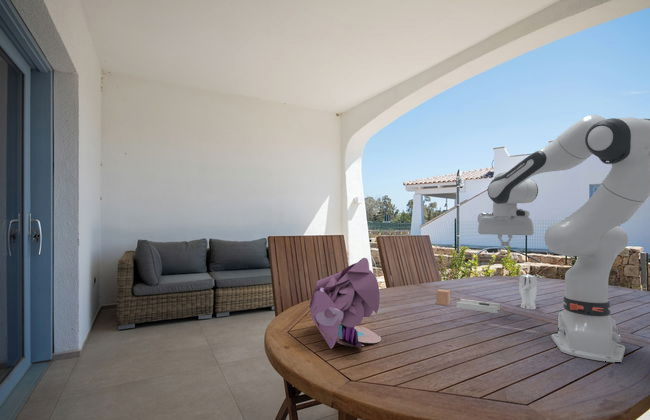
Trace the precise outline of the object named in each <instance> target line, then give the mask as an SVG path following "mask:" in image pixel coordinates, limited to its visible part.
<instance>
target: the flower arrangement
mask: <svg viewBox="0 0 650 420" xmlns="http://www.w3.org/2000/svg"><path fill="white" fill-rule="evenodd" d="M380 298H381V297H380V287H379V282H378V279H377V277H376V275H375V274H374V272H373V271H372V270H370V262H369V259H368V258H367V257H362V258H361V259H359V261H357V262H355V263H353V264H350V265H348V266H347V267H345V268H344V269H343V270H342V271H339V272H337V273H334V274H331V275H329V276H326V277H324V278H321V279H319V280H317V281H316V283H315V287H314V290H313V292H312V296H311V300H310V303H309V309H310V315H311V316H310V317H311V319H312V321H313V322H314V324H315V326H316V327H317V329H318V330H319V332H320V334H321V335H322V337H323V339H324V340H325V342H326V344H327V345H328V347H329V349H330V350H332V349H333V348H334V347H335V344H336V343H338V344H340V345H344V346H347V347H354V348H361V347H364V346H365V345H364V344H376V343H379V342H381V340H382V337H381V336H380V335H378V334H377V333H376V332H374V331H372V330H370V329H369V328H367V327H364V326H362V325H361V326H359V325H360V324H361V322H362V321H363V319H364V318H370V317H371V316H372V314H374V313H375V314H376V315H377V313H378V311H379V307H380ZM373 312H374V313H373ZM362 343H364V344H362Z"/></svg>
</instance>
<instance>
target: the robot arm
mask: <svg viewBox="0 0 650 420" xmlns="http://www.w3.org/2000/svg"><path fill="white" fill-rule="evenodd" d="M592 155H594V156H596V157H597V158H598V159H599V160H600V161H601V162H602V163H603V164H606V165H611V169H610V170H609V172H608V174H607V175H606V177H605V178H604V179H603V180H602V182H601V183H600V185H599V186H598V188H597V189H596V190H595V191H594V193H592V195H591V196H590V198H589V199H587V201H586V202H585V203H584V204H583V205H582V206H580V207H579V208H578V209H577V210H576V211H574V212H572V213H571V214H570V215H569V216H567V217H566V218H564V219H562V220H560V221H559V222H556V223H553V224H551V225H550V226H548V228H547V229H546V231H545V232H544V239H543V240H544V244H545V246H546V247H547V249H548V250H549V251H550V252H552V253H553V254H556V255H561V256H566V257H576V261H575V263H574V265H573V266H571V267H569V269H567V271H566V272H565V274H564V296H563V300H562V303H563V304H562V306H563V308H564V309H563V310H561V311H560V312H559V313H558V316H557V317H558V318H557V319H558V320H557V321H558V322H557V324H558V325H557V333H552V334H551V336H550V338H551V340H552V341H553V342H554V344H555V345H556V346H557V348H558V349H559V351H560V352H562V353H563V354H567V355H570V356H573V357H577V358H582V359H587V360H591V361H592V360H593V361H598V362H599V361H600V362H605V361H606V363H615V362H621V363H622V362H623V360H624V359H623V358H624V356H625V352H626V346H625V345H623V344H621V343H622V341H621V339H622V337H621V334H620V333H619V327H617V323H616V320H615V319H614V318H613V317H611V309H612V308H611V303H610V301H609V279H610V278H609V277H610V274H611V270H612V267H613V264H614V262H615V261H616V258H617V257H618V256H619V255H620V254H621V253H622V252H623V251H624V250H625V249H626V248H627V247H628V243H629V237H628V233H627V231H625V229H624V228H623V227H622V226H621V225H623V224H625V223H626V222H628V221H629V220H630V219H631V218H632V217H633V216H634V214H635V213H636V212H637V211H638V210H639V208H641V206H643V204H644V203H645V202H646V201H647V200H648V199H649V197H650V118H639V117H638V118H637V117H618V118H614V117H613V118H612V117H611V118H605V117H603V116H601V115H599V114H589V115H586V116H583V117H582V118H581V119H578V120H577V121H576V122H574V123H573V124H571V125H570V126H569V127H567V128H566V129H565V130H564V131H563V132H561V133H560V135H558V136H557V137H556V138H555V139H553V140H552V141H551V142H549V143H548V144H546V145H545V146H544V147H542V148H540V149H539V150H536V151H535V152H533V153H532V154H529V155H528V156H527V157H525V158H524V159H522V160H521V161H520V162H518V163H517V164H516V165H515V166H513V167H512V168H511V169H510V170H507V171H506V172H501V173H500V172H499V173H498V174H496V175H495V176H494V177H493V179H492V180H491V181H490V183H489V184H488V186H487V195H488V197H489V199H490V200H491V201H492V202H493V203H492V212H481V213H479V214H478V215H477V223H478V228H477V232H478V234H479V235H491V236H492V235H495V236H497V238H498V240H499V242H500V246H501V247H510V242H511V241H512V239H513V236H533V235H534V233H535V232H534V223H533V220H532V219H531V217H530V215H531V213H530V211H528V210H525V209H522V208H518V204H529V203H532V202H534V201H535V200H536V199H537V197H538V196H539V195H538V194H539V187H538V184H537V182H535V180H533V179H530V178H531V177H534V176H536V175H538V174H539V175H540V174H542V173H544V174H545V173H549V172H558V171H568V170H571V169H572V168H575V167H577V166H579V165H580V164H582V163H583V162H584V161H586V160H588V158H590V157H591V156H592ZM503 236H507V238H508V240H507V241H503V239H502V238H503ZM619 343H620V344H619Z"/></svg>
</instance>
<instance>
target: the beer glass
mask: <svg viewBox="0 0 650 420" xmlns="http://www.w3.org/2000/svg"><path fill="white" fill-rule="evenodd" d="M537 277H538V276H537V275H533V274H519V279H518V281H519V282H518V288H519V290H518V291H519V295H520V299H521V301H520V303H521V304H520V308H521V309H526V310H536V309H537V307H536V299H537V293H538V279H537Z"/></svg>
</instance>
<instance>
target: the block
mask: <svg viewBox="0 0 650 420" xmlns="http://www.w3.org/2000/svg"><path fill="white" fill-rule="evenodd" d="M451 294H452V293H451V290H450V289H441V288H439V289H437V290H436V297H435V298H436V301H435V302H436V305H439V306H441V305H442V306H447V307H448V306H450V305H451V303H452V302H451V300H452V299H451Z"/></svg>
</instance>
